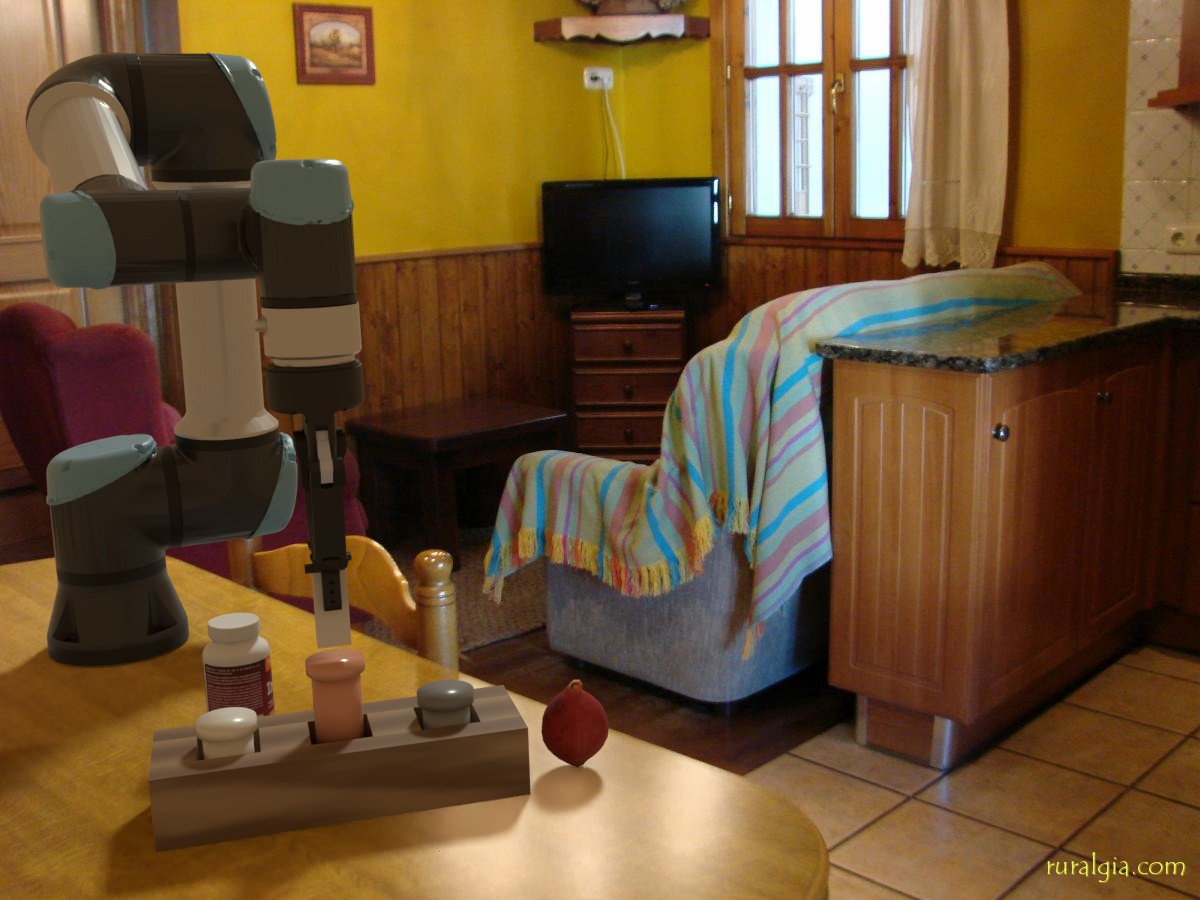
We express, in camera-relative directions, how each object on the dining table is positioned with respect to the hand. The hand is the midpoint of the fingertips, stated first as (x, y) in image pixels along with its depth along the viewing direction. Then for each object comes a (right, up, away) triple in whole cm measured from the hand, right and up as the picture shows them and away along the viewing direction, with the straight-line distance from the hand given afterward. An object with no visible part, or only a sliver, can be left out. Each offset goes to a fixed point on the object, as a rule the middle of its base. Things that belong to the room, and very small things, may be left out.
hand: (334, 643), depth 109 cm
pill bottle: (-12, -11, +17) cm, 23 cm away
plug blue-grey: (+9, -12, +5) cm, 16 cm away
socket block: (0, -13, +3) cm, 14 cm away
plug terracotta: (0, -9, +2) cm, 9 cm away
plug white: (-8, -14, 0) cm, 16 cm away
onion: (+20, -12, +7) cm, 24 cm away
